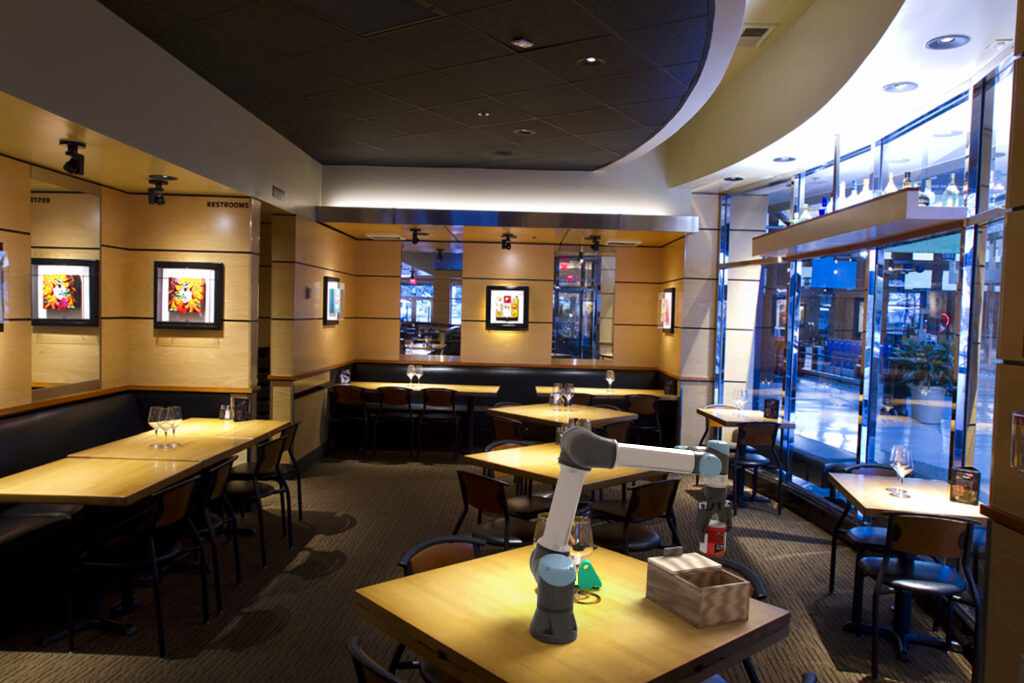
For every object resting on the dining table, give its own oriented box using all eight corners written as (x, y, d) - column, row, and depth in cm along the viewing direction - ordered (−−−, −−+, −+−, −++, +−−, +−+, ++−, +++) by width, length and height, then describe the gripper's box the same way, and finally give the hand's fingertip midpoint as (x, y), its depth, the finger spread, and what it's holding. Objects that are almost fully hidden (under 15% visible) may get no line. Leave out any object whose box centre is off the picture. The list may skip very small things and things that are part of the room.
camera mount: (598, 582, 256) (600, 556, 256) (601, 590, 249) (602, 562, 249) (567, 581, 256) (569, 554, 256) (569, 588, 249) (571, 561, 249)
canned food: (718, 559, 224) (719, 527, 224) (696, 553, 230) (698, 521, 230) (728, 554, 230) (729, 523, 230) (706, 548, 235) (708, 518, 235)
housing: (697, 628, 219) (699, 589, 219) (645, 596, 244) (647, 561, 244) (748, 619, 228) (750, 582, 228) (693, 589, 254) (695, 555, 254)
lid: (672, 574, 231) (673, 562, 231) (647, 560, 244) (648, 549, 244) (721, 567, 241) (722, 556, 241) (695, 555, 254) (695, 544, 254)
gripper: (700, 489, 222) (696, 556, 222) (746, 486, 231) (742, 551, 231) (685, 484, 229) (682, 549, 229) (730, 481, 237) (727, 544, 238)
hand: (712, 550), depth 230 cm, fingers closed on canned food, 8 cm apart
